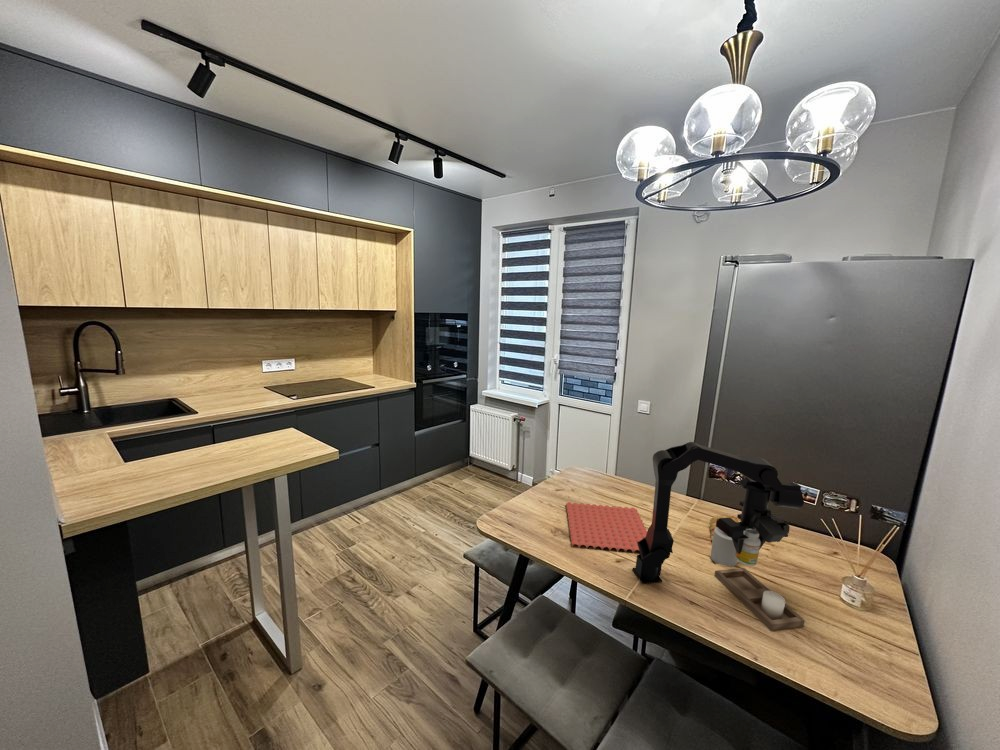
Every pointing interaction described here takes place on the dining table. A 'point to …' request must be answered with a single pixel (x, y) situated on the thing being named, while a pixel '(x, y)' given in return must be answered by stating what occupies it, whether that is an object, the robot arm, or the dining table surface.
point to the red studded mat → (605, 526)
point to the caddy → (756, 598)
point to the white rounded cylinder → (772, 605)
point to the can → (723, 549)
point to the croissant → (714, 520)
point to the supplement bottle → (749, 548)
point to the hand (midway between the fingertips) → (746, 552)
